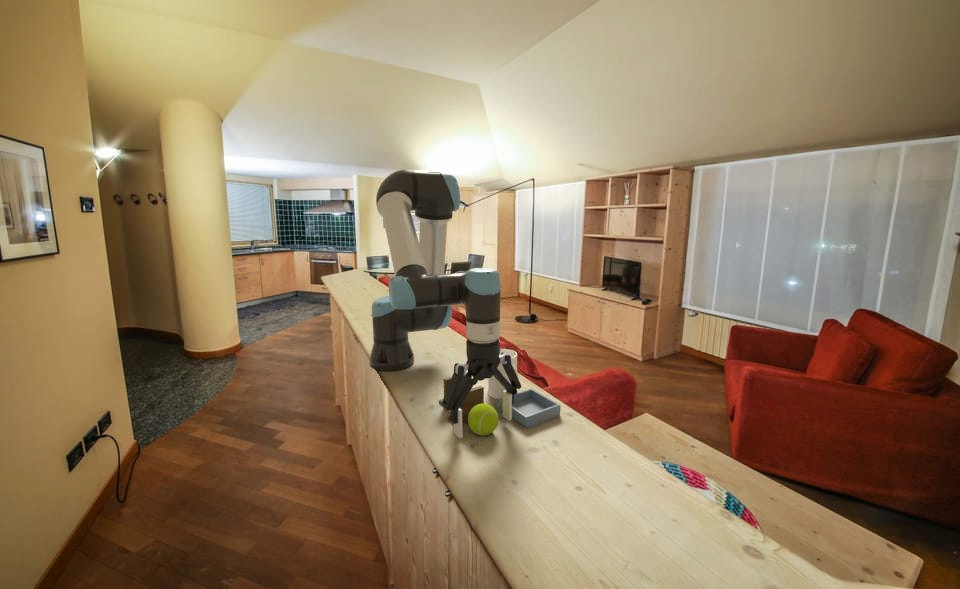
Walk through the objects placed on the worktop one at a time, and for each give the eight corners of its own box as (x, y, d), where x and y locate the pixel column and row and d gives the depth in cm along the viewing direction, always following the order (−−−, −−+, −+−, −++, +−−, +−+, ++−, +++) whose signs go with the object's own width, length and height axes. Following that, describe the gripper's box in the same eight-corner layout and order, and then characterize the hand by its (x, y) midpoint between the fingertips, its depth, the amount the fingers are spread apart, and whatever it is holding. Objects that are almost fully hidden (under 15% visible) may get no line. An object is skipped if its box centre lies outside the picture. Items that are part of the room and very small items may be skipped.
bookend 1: (439, 402, 102) (438, 374, 101) (464, 394, 106) (464, 368, 105) (446, 408, 99) (445, 380, 97) (472, 400, 103) (471, 373, 101)
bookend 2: (447, 418, 94) (447, 388, 92) (475, 409, 98) (474, 381, 96) (456, 426, 90) (455, 395, 89) (483, 416, 94) (483, 387, 93)
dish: (498, 409, 98) (498, 398, 98) (531, 398, 104) (531, 388, 104) (525, 428, 89) (525, 417, 88) (559, 415, 95) (560, 404, 94)
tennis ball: (504, 435, 86) (504, 407, 85) (478, 445, 83) (478, 416, 81) (487, 422, 92) (487, 395, 91) (462, 430, 89) (462, 403, 87)
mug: (528, 401, 102) (529, 360, 100) (500, 407, 99) (501, 365, 97) (508, 384, 113) (509, 346, 111) (482, 389, 110) (482, 350, 107)
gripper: (440, 354, 73) (442, 451, 77) (537, 333, 86) (535, 417, 90) (424, 343, 79) (427, 434, 83) (517, 326, 93) (516, 405, 97)
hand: (483, 426), depth 87 cm, fingers open, 13 cm apart
